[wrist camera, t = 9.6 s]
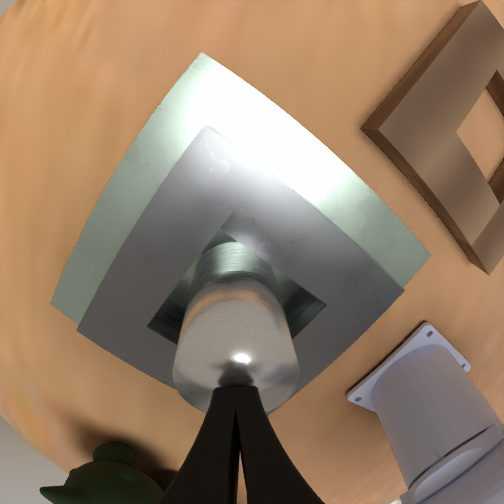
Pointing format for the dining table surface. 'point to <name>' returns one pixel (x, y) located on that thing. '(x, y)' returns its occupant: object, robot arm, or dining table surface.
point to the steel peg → (234, 331)
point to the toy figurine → (108, 481)
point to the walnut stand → (450, 130)
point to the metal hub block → (233, 228)
